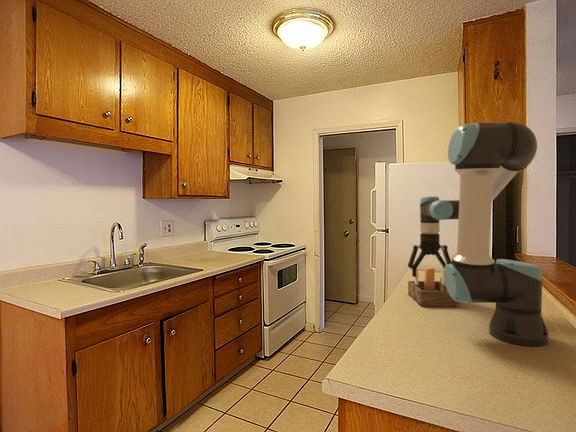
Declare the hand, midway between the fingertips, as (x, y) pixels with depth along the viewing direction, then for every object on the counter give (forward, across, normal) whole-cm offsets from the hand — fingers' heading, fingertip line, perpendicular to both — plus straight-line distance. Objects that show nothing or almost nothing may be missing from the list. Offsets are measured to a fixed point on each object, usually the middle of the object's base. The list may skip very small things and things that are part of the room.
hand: (430, 284), depth 144 cm
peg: (+5, 0, -1) cm, 5 cm away
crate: (+6, 0, +1) cm, 7 cm away
